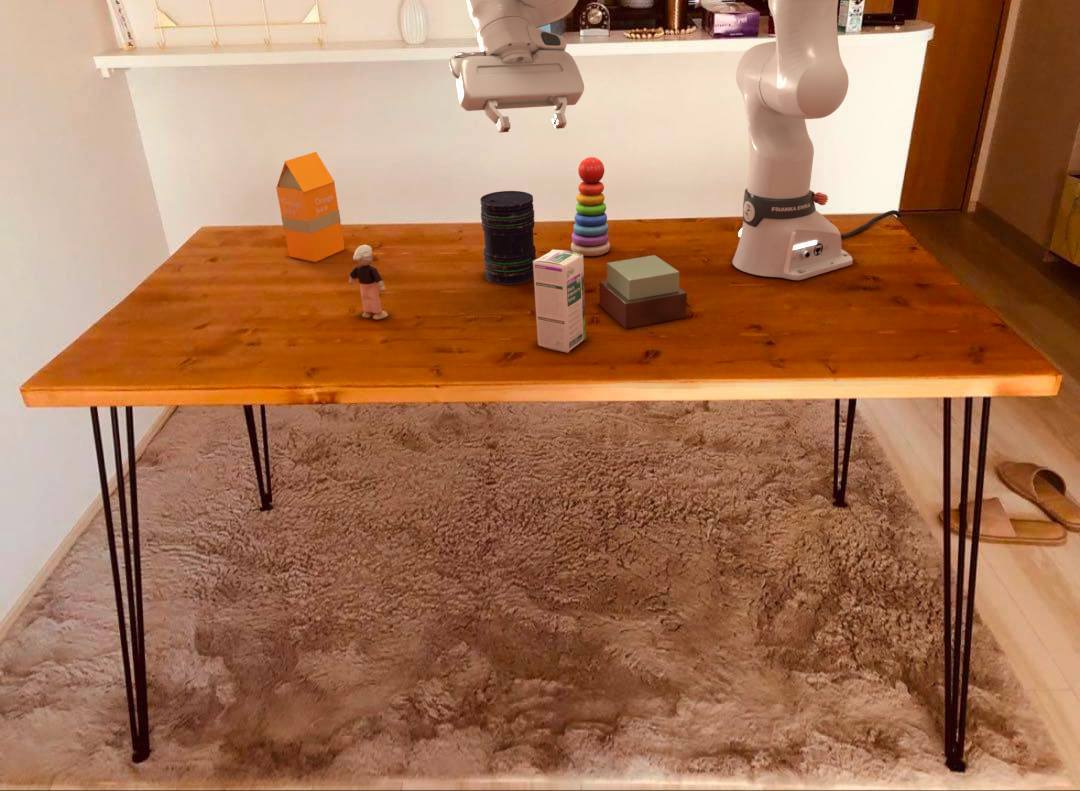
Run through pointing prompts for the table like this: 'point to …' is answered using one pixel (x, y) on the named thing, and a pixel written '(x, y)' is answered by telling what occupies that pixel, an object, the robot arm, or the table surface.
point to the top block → (642, 277)
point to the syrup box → (560, 300)
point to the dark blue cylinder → (508, 236)
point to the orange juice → (309, 209)
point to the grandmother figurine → (368, 283)
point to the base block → (642, 307)
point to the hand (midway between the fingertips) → (533, 128)
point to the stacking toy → (590, 211)
